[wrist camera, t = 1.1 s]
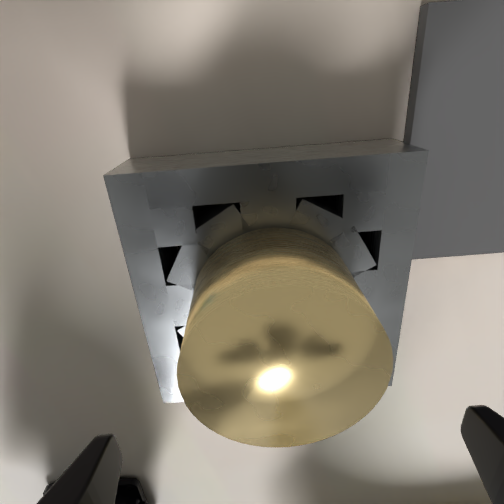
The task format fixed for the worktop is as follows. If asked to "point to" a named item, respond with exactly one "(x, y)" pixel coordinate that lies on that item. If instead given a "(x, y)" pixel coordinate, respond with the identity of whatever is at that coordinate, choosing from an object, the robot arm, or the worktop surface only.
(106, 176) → the housing
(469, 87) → the mat
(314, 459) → the worktop surface
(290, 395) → the end cover
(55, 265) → the worktop surface
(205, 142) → the worktop surface
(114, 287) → the worktop surface
